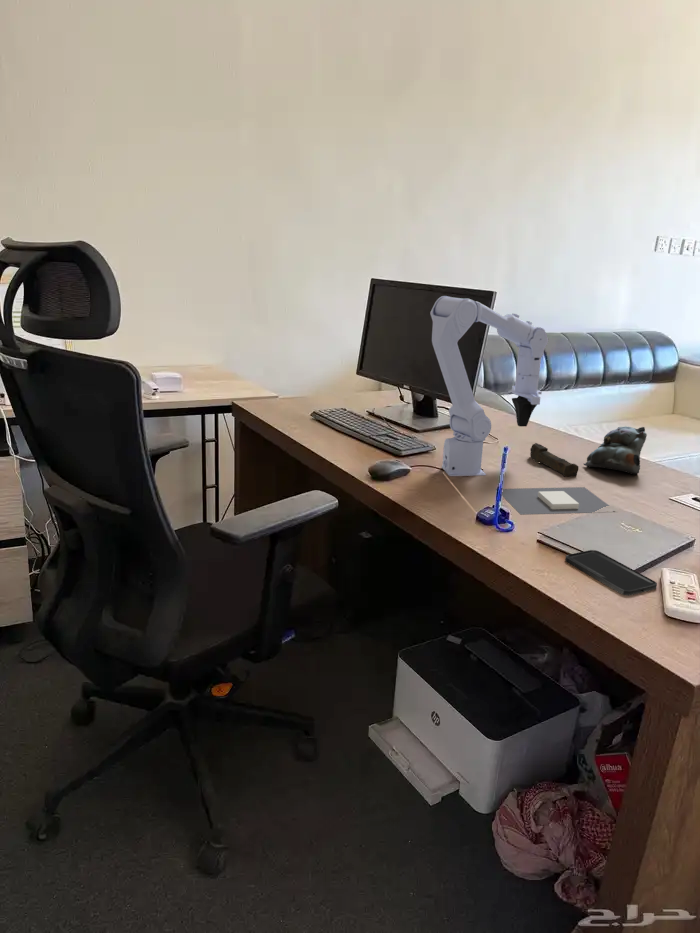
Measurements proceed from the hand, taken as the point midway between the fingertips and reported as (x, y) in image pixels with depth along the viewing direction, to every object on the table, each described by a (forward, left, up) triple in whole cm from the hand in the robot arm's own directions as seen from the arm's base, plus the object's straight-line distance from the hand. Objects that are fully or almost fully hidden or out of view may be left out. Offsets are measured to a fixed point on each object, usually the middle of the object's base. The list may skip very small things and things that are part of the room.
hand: (522, 425), depth 176 cm
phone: (-7, -63, -11) cm, 64 cm away
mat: (-2, -28, -10) cm, 30 cm away
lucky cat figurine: (+23, -6, -11) cm, 26 cm away
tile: (-2, -26, -9) cm, 27 cm away
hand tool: (+7, -3, -11) cm, 13 cm away
